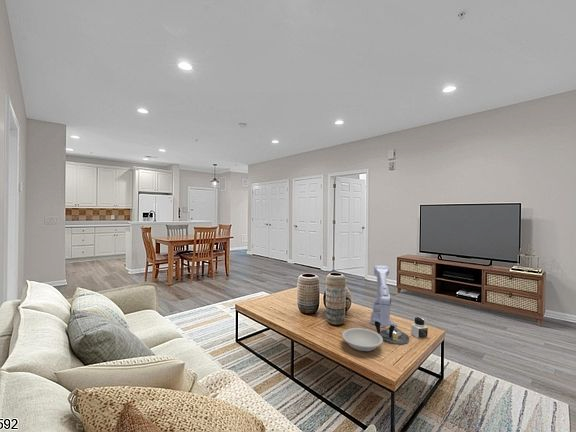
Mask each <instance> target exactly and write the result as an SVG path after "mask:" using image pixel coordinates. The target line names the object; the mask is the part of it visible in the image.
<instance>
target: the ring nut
mask: <svg viewBox="0 0 576 432" xmlns="http://www.w3.org/2000/svg"><path fill="white" fill-rule="evenodd" d="M386 329H387V335H388V336H389V333H390V332H389V327H388V328H386ZM402 332H403V331H402V330H401V329H399V328H397V327H396V328H394V330H393V333H392V337H391V338H392V339H393V340H394V341H398V338H401V337H402Z"/></svg>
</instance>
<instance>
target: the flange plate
mask: <svg viewBox="0 0 576 432" xmlns="http://www.w3.org/2000/svg"><path fill="white" fill-rule="evenodd" d="M387 329H388V328H385V329H381V330H380V333H379V335H381V337H382V338H383V342H385V343H387V344H391V345H397V346H398V345H399V346H401V345H403V346H404V345H406V344H408V343H409V342H410V337H409V335H408V334H407V333H406V332H404V331H402V337H401V338H398V341H394V340H393V339H392V338H390V337H389V336H388V335H387Z"/></svg>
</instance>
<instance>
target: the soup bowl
mask: <svg viewBox="0 0 576 432" xmlns="http://www.w3.org/2000/svg"><path fill="white" fill-rule="evenodd" d="M341 336H342V339H343V340H344V341H345V342H346V343H347V344H348V345H349V346H350V347H351V348H352V349H355V350H356V351H361V352H369V351H370V352H371V351H373V350H376V348H378V346H380V345H382V344H383V342H384V340H383V338H382V337H381V335H380V333H379V334H378V332H377V331H374V330H371V329H368V328H361V327H351V328H347V329H345V330H344V331H342V334H341Z"/></svg>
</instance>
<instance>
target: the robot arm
mask: <svg viewBox="0 0 576 432" xmlns="http://www.w3.org/2000/svg"><path fill="white" fill-rule="evenodd" d="M373 274H374V276H376V298H374V299H373V300H372V311H371V313H370V322H369V323H370V324H372V325H374V326H375V329H376V333H378V334H379V335H380V332H381V328H383V327H386V326H389V327H388V328H389V332H390V333H389V337H390V338H391V337H392V333H393V330H394V328H397V327H398V324H397V323H396V322H393V321H390V319H391V316H390V315H391V305H392V298H391V294H390V289H389V286H388V285H387V277H388V276H389V275H390V267H389V265H379V264H377V265H376V264H374V265H373Z"/></svg>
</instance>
